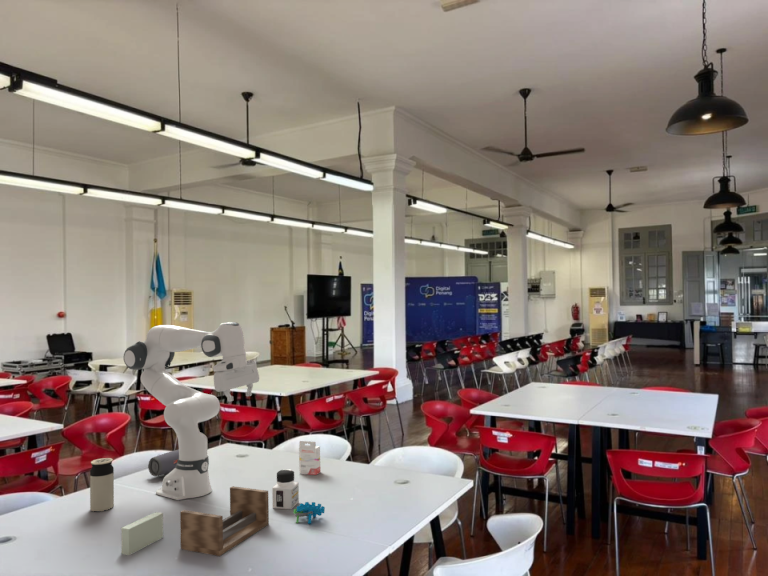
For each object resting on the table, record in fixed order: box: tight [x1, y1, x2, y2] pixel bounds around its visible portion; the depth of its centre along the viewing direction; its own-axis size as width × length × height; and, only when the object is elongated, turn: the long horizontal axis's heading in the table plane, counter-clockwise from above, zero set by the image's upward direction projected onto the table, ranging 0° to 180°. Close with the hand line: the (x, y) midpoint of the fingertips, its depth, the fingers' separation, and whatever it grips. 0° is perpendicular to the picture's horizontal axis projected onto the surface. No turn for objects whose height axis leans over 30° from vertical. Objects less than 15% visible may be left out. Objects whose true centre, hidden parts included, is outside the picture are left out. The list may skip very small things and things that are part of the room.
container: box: [271, 468, 300, 510], centre depth 211 cm, size 8×8×13 cm
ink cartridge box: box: [298, 440, 321, 476], centre depth 251 cm, size 9×5×15 cm, turn 73°
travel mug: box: [89, 457, 115, 512], centre depth 212 cm, size 8×8×18 cm
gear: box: [293, 501, 326, 525], centre depth 194 cm, size 11×6×10 cm
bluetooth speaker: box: [147, 449, 179, 477], centre depth 257 cm, size 23×9×10 cm, turn 148°
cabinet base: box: [179, 486, 270, 557], centre depth 183 cm, size 15×26×12 cm, turn 158°
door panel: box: [120, 511, 164, 556], centre depth 177 cm, size 3×14×8 cm, turn 158°
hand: (240, 398), depth 216 cm, fingers open, 8 cm apart
